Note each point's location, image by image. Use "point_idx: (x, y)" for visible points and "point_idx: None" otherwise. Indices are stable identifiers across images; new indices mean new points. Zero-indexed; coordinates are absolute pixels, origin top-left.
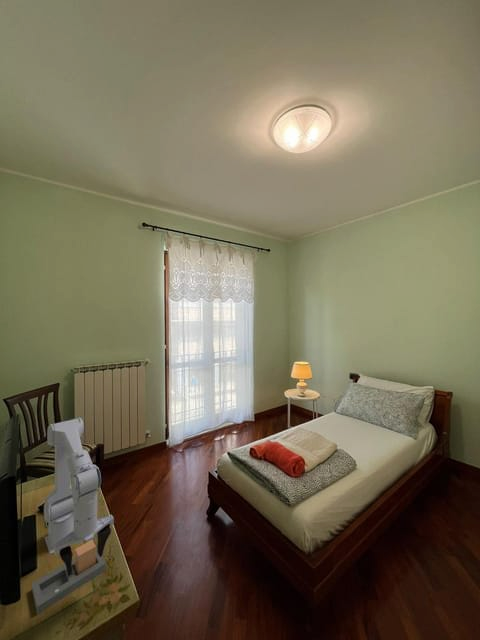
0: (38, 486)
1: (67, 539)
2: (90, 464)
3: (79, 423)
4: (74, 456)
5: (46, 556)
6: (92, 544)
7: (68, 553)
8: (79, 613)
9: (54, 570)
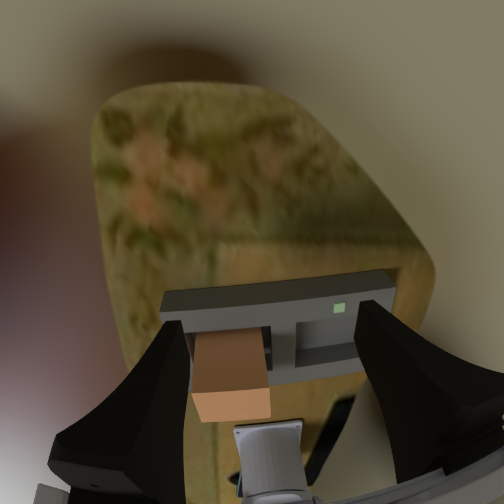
0: None
1: None
2: None
3: None
4: None
5: (308, 418)
6: (203, 405)
7: (477, 416)
8: (281, 184)
9: (319, 377)
